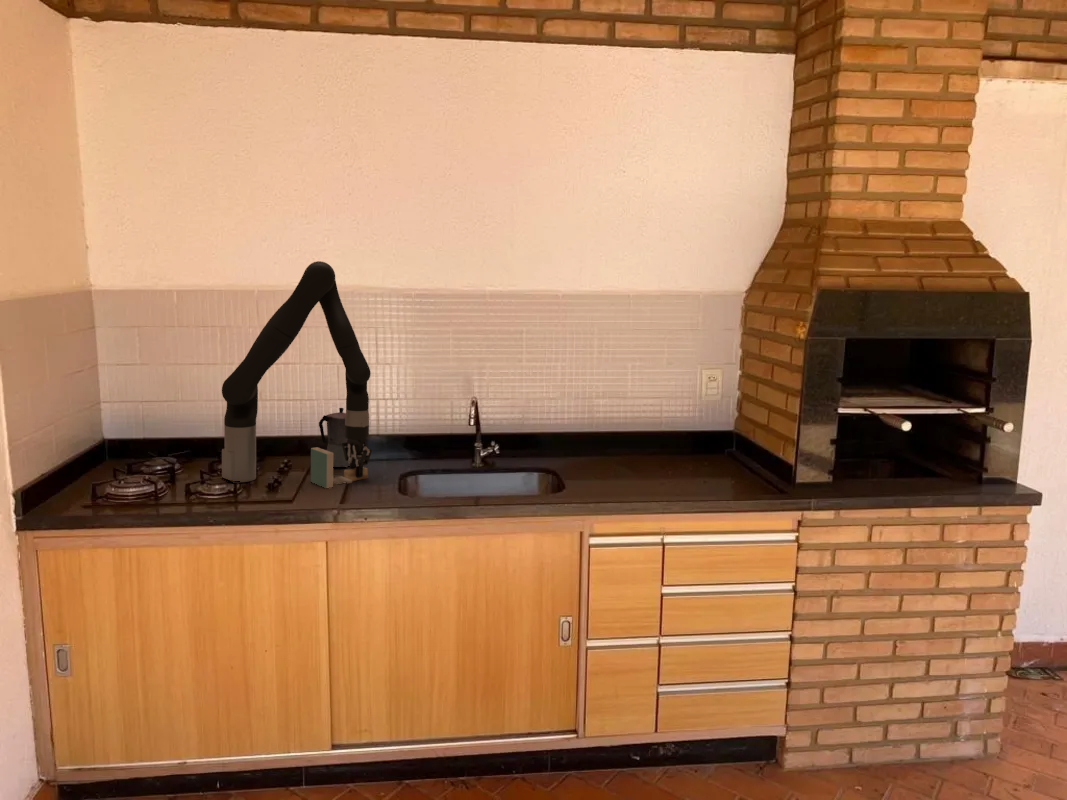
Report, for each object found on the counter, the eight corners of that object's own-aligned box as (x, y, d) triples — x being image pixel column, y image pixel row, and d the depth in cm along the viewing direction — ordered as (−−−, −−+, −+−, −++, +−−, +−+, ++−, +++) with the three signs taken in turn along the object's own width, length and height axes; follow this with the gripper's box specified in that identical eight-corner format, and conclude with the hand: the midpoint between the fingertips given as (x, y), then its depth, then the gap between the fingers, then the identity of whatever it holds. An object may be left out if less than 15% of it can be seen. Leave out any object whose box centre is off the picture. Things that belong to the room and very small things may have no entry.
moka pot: (363, 464, 278) (364, 407, 275) (330, 472, 265) (331, 413, 262) (343, 459, 283) (344, 403, 280) (309, 467, 270) (310, 409, 267)
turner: (359, 475, 264) (359, 465, 264) (370, 479, 260) (370, 469, 260) (327, 480, 256) (327, 471, 255) (338, 485, 252) (338, 475, 251)
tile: (326, 488, 247) (326, 453, 245) (310, 482, 253) (310, 448, 251) (333, 487, 249) (333, 452, 247) (317, 481, 255) (317, 447, 253)
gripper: (334, 420, 259) (333, 473, 262) (359, 428, 249) (358, 482, 252) (354, 418, 264) (353, 469, 267) (379, 425, 255) (378, 479, 258)
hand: (356, 475), depth 260 cm, fingers closed on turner, 2 cm apart
